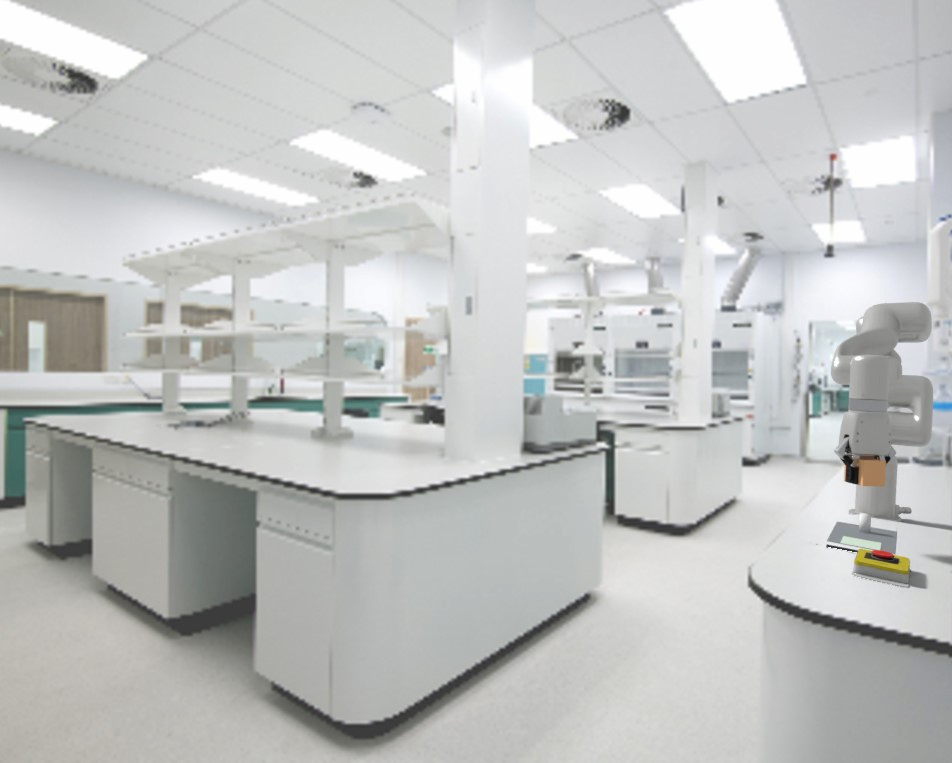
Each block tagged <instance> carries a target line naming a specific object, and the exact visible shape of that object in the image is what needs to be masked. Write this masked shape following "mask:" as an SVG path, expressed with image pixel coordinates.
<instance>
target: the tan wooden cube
mask: <svg viewBox="0 0 952 763" xmlns="http://www.w3.org/2000/svg"><path fill="white" fill-rule="evenodd" d="M852 458H853V456H852ZM852 458H851V459H852ZM843 466H844V470H843V471H844V472H843V482H845V483H847V482H846V481H845V473H846V465H843ZM856 467H859V473H858V484H855V486H856V485H860V486H881V487H885V469H886V461H884V460H879V459H874V456H866V455H860V458H859V461H858V463H857V466H856Z"/></svg>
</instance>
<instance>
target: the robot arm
mask: <svg viewBox="0 0 952 763" xmlns="http://www.w3.org/2000/svg"><path fill="white" fill-rule="evenodd" d="M932 324H933V322H932V314H931V310H930V309H929V307H928V306H927V305H926V304H924V303H922V302H919V301H909V302H908V301H907V302H905V301H904V302H888V303H887V302H886V303H885V302H884V303H878V304H877V303H876V304H873V305H872V306H870V307H868V308H867V309H866V310H865V312H864V314H863V315H862V316H861V317H859V318H858V319H857V321H856V323H855V330H856V331H855V332H856V334H854V335H852V336H850V337H849V338H846V339H845V340H844V341H842V342H841V343H840V344H838V346H837V347H836V349H835V350H834V351H835V352H834V354H833V356H832V357H833V358H832V362H831V364H830V376H831V379H832V380H833V381H834V382H835V384H838V385H842V386H843V385H844V386H849V388H848V404H847V405H848V406H847V409H848V411H844V414H843V417H842V419H841V420H842V421H841V424H840V430H839V431H840V432H839V435H838V436H839V437H838V438H839V439H838V445H836V448H834V450H833V451H834V454H836V455H837V456H838V458H839V459H840V460H841V462H842V464H843V466H845V465H846V473H845V481H846V482H845V483H849V484H853V485H855V498H854V499H855V503H854V508H850V509H849V510H848V514H849V515H851V516H859V517H860V513H865V514H870V515H871V519H872V518H873V519H876V520H883V521H891V522H897V523H902V517H901V516H899V515H901V514H904V515H908V514H909V515H911V514H912V512H913V511H912V508H911V507H910V506H900V505H899V504H896V503H897V502H896V501H897V483H898V481H897V480H898V465H899V462H898V459H897V457H896V454H897V451H896V449H895V448H894V447H893V446H894V445H895V446H903V447H904V446H905V447H917V448H918V447H919V448H921V447H925V446H928V445H929V444H930V442H931V439H932V433H933V416H934V415H933V414H934V413H933V410H934V408H933V407H934V388H933V383H932V381H931V380H930V379H929V378H928V377H926V376H924V375H912V374H903V366H902V358H901V356H900V355H899V353H898V352H897V351H896V350H895V348H896V347H897V345H898V344H899V343H907V344H908V343H911V344H913V343H916V344H918V343H923V342H925V341H927V340H928V339H929V338H930V336H931V335H932V334H931V333H932V330H933V329H932V328H933V326H932ZM890 408H895V409H896V408H897V409H899V408H901V409H908V410H911V411H912V412H903V411H902V412H901V411H894V410H893V411H892V410H890V411H888V409H890ZM860 455H866V456H874V459H879V460H884V461H886V469H885V487H881V486H860V485H856V484H858V473H859V467H856V466H857V463H858V461H859V458H860ZM852 457H853V458H852ZM851 458H852V459H851Z"/></svg>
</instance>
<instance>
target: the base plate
mask: <svg viewBox="0 0 952 763" xmlns="http://www.w3.org/2000/svg"><path fill="white" fill-rule="evenodd" d="M858 519H859V522H858V524H856V523H849V522H843V521H836V522H835V525H834V527H833V528H832V530H831V532H830V534H829V536H828V537H827V539H826V542H830V543H836V544H840V545H845V546H849V547H855V548H859V549H865V550H871V551H873V550H881V551H886V552H889V553H892V554H893V555H895V554H896V547H897V546H896V545H897V537H898V536H897V534H898V531H897V530H896V531H895V530H890V529H885V528H878V527H873V526H871V524H872V518H871V515H870V514H865V513H860V516H859V518H858ZM825 547H826V548H828V547H831V548H830V549H833V548H837V549H836V550H838V549H842V550H841V551H843V550H847V551H846V552H848V551H852V552H851V553H853V552H858V550H859V549H854V548H847V547H843V546H838V545H837V546H836V545H832V544H826V546H825Z"/></svg>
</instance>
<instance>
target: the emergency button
mask: <svg viewBox="0 0 952 763" xmlns="http://www.w3.org/2000/svg"><path fill="white" fill-rule="evenodd" d="M857 550H858V552H857V553H856V555H855V557H854V561H853V567H852V571H851V576H852V575H854V576H853V577H855V576H857V577H856V578H858V577H861V578H860V579H863V578H865V579H864V580H867V579H869V580H868V581H872V580H873V581H872V582H876V581H877V583H881V582H882V583H881V584H885V583H887V584H886V585H890V584H892V585H891V586H894V585H895V586H896V587H899V586H900V588H904V587H908V588H909V586H910V576H911V567H910V566H911V565H910V563H911V562H910V561H911V560H910V558H909V557H905V556H901V555H895V554H892V553H889V552H886V551H881V550H871V549H865V548H858V549H857ZM855 573H856V574H855Z"/></svg>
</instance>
